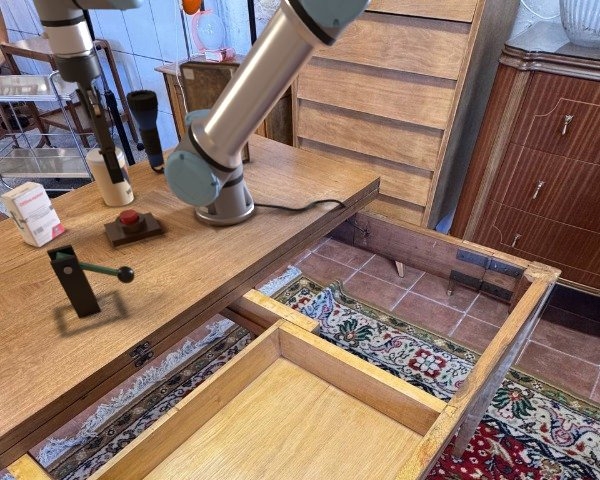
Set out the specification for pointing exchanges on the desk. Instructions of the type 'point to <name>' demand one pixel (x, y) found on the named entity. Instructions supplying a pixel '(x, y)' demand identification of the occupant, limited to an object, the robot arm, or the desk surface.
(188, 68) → the book
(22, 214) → the ink box
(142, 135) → the flashlight
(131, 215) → the button
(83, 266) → the lever
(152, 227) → the button block
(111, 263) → the desk surface
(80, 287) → the bracket
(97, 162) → the coffee cup
